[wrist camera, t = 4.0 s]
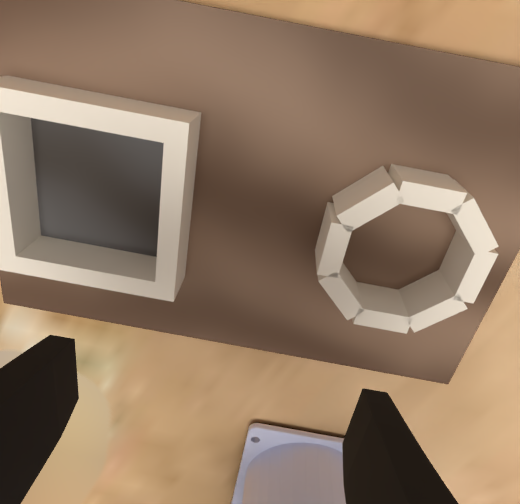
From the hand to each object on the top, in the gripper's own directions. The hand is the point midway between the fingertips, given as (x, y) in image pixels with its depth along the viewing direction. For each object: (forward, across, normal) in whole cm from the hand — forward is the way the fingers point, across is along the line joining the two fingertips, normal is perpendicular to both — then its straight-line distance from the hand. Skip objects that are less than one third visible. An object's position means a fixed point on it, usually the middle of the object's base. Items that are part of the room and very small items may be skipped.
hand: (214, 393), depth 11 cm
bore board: (+9, 0, -2) cm, 9 cm away
